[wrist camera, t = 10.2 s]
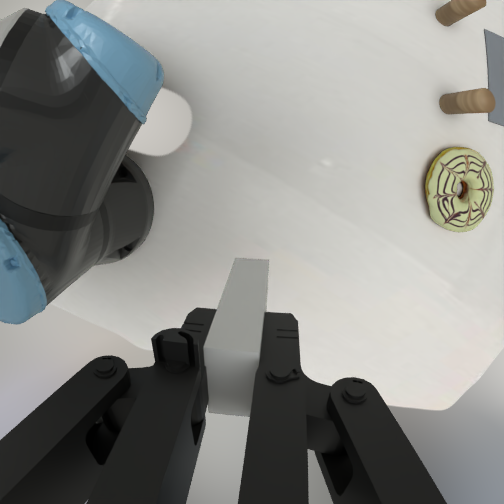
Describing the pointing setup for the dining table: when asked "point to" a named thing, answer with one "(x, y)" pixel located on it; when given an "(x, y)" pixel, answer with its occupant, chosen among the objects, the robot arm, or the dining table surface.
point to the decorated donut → (445, 189)
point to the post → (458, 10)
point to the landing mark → (495, 74)
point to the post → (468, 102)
